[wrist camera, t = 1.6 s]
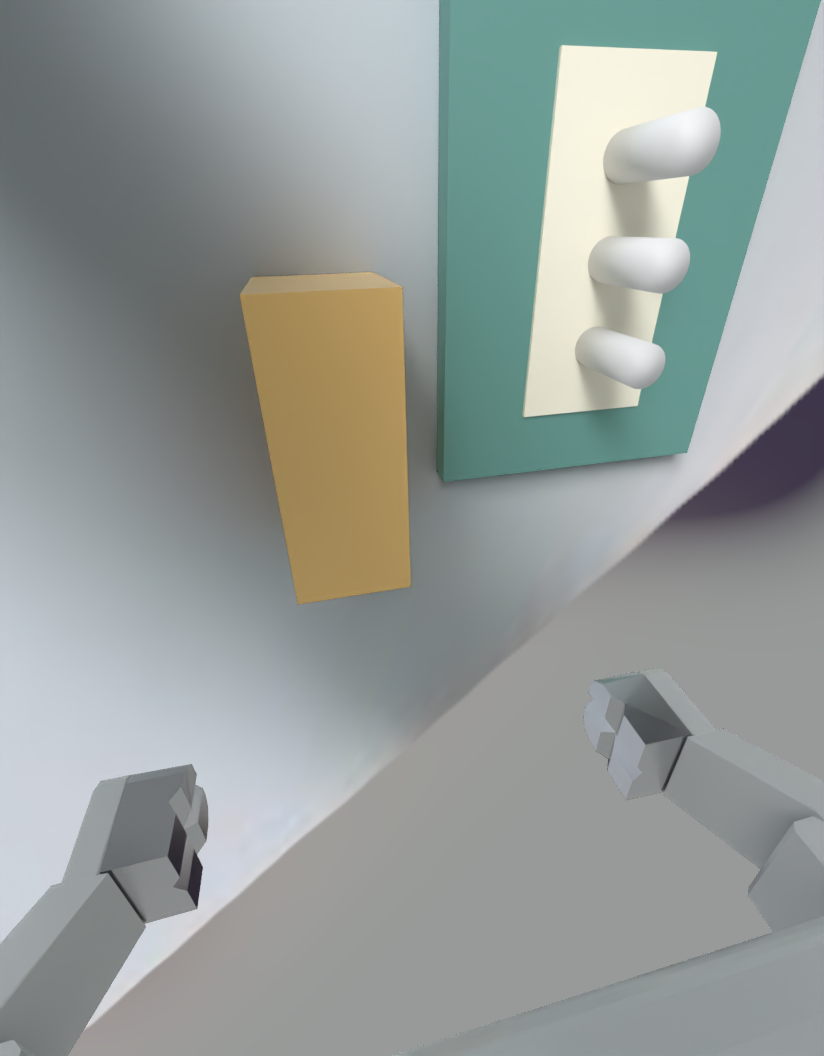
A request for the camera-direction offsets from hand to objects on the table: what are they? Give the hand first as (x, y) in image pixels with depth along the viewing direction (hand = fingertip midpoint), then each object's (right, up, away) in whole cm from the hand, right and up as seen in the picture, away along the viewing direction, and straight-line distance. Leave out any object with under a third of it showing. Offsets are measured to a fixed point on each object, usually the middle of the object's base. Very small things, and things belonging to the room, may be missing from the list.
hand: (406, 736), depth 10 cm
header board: (+9, +18, +15) cm, 25 cm away
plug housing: (-4, +10, +16) cm, 20 cm away
